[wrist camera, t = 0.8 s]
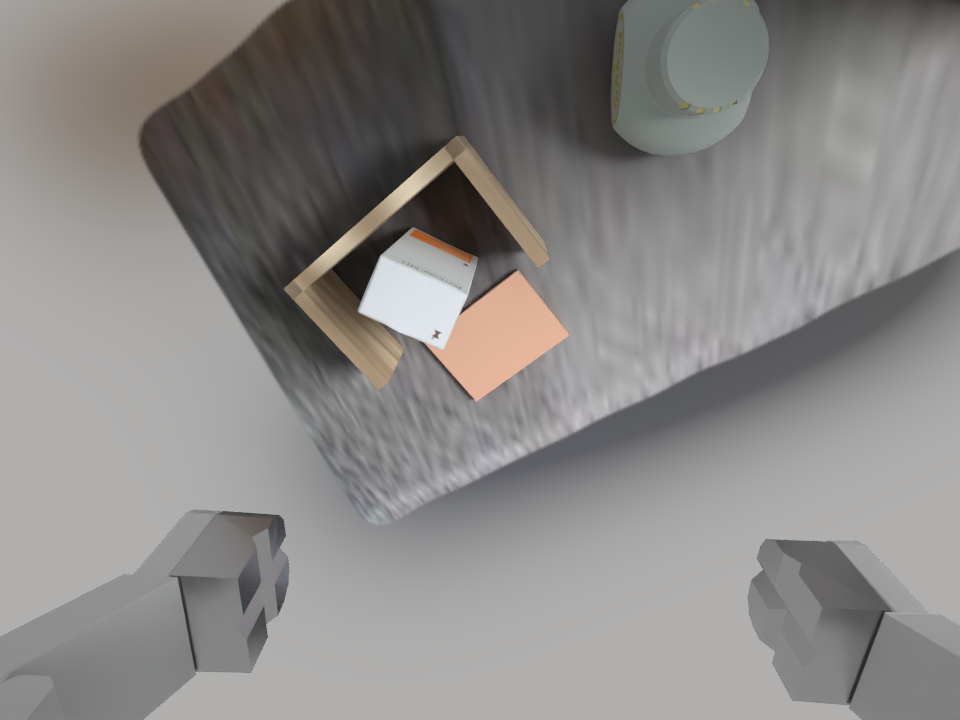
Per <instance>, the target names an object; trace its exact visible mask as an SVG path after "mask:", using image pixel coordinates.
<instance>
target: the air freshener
mask: <svg viewBox="0 0 960 720" xmlns="http://www.w3.org/2000/svg"><path fill="white" fill-rule="evenodd" d="M768 55H769V34H768V30H767V26H766V24H765V22H764V19H763V17H762V16H761V14H760V11H759V7H758V5H757V4H756V2H755V1H754V0H628V1H627V2H626V3H625V4H624V5H623V7H622V8H621V9H620V12H619V16H618V21H617V27H616V34H615V42H614V52H613V64H612V81H611V120H612V126H613V128H614V129H615V131H616V132H617V133H618V134H619V135H620V136H621V137H622V138H623V139H624V140H625V141H627V142H628V143H629V144H631V145H632V146H634V147H636V148H638V149H639V150H642V151H645V152H647V153H650V154H654V155H661V156H682V155H687V154H692V153H695V152H698V151H701V150H703V149H706V148H708V147H710V146H712V145H714V144H715V143H717V142H719V141H720V140H722V139H723V138H724V137H726V136H727V135H728V134H730V133H731V132H732V131H733V130H734V129H735V128H736V127H737V126H738V125H739V124H740V123H741V121H742V120H743V118H744V116H745V114H746V111H747V108H748V106H749V103H750V99H751V95H752V92H753V89H754V88H755V86H756V85H757V84H758V82H759V80H760V78H761V76H762V75H763V72H764V70H765V67H766V64H767V60H768Z"/></svg>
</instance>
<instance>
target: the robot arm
mask: <svg viewBox="0 0 960 720" xmlns="http://www.w3.org/2000/svg"><path fill="white" fill-rule="evenodd" d="M285 537H286V533H285V526H284V520H283V518H282V517H281V516H280V515H270V514H255V513H241V512H228V511H227V512H226V511H222V512H220V511H208V510H207V511H206V510H192V511H189V512H187V513H185V515H184V516H183V517H182V518H181V519H180V520H179V521H178V523H177V524H176V525H175V526H174V527H173V529H172V530H171V531H170V532H169V533H168V534H167V536H166V537H165V538H164V539H163V540H162V541H161V543H160V544H159V545H158V546H157V547H156V548H155V550H154V551H153V552H152V553H151V554H150V556H149V557H148V558H147V559H146V560H145V561H144V563H143V564H142V565H141V566H140V567H139V568H138V570H137V571H136V572H135V573H134V574H133V575H127V574H123V575H122V576H119V577H118V578H115V579H113V580H112V581H110V582H108V583H105V584H103V585H101V586H100V587H97V588H96V589H94V590H92V591H90V592H88V593H86V594H84V595H82V596H80V597H78V598H76V599H74V600H72V601H70V602H68V603H66V604H64V605H62V606H60V607H58V608H56V609H54V610H52V611H50V612H48V613H46V614H44V615H42V616H40V617H38V618H36V619H34V620H32V621H30V622H28V623H26V624H24V625H22V626H20V627H18V628H17V629H14V630H12V631H10V632H8V633H7V634H5V635H3V636H1V637H0V720H143V719H144V718H145V717H147V716H148V715H149V714H150V713H151V712H153V711H154V710H155V709H156V708H157V707H158V706H160V705H161V704H162V703H163V702H164V701H165V700H167V699H168V698H169V697H170V696H171V695H173V693H175V692H176V691H177V690H178V689H180V688H181V687H182V686H183V685H184V684H185V683H187V682H188V681H189V680H190V679H191V678H192V677H194V676H195V675H196V672H202V671H203V672H243V673H251V671H252V670H253V667H254V665H255V663H256V661H257V659H258V657H259V655H260V653H261V651H262V649H263V646H264V644H265V642H266V640H267V638H268V635H267V627H266V624H267V623H268V622H269V621H271V620H272V619H274V618H275V617H276V616H278V614H279V612H280V610H281V607H282V605H283V603H284V600H285V596H286V592H287V587H288V582H289V562H288V557H287V556H286V554H285V553H284V552H282V550H281V549H280V546H281V544H282V542H283V541H284V538H285ZM757 560H758V562H759V563H760V565H761V567H762V568H763V570H762V571H761V572H760V573H759V574H758V575H757V576H755V577H754V578H753V579H752V580H751V584H750V589H749V593H748V604H749V605H748V606H749V615H750V618H751V621H752V625H753V627H754V629H755V631H756V633H757V635H758V637H759V639H760V640H761V641H762V642H764V643H765V644H766V645H768V646H769V647H770V648H772V649H773V650H774V651H775V655H774V658H773V662H772V664H773V666H774V667H775V669H776V671H777V673H778V675H779V677H780V678H781V680H782V682H783V684H784V686H785V688H786V690H787V691H788V693H789V695H790V697H791V699H792V700H793V701H804V702H816V703H829V704H841V705H850V707H849V708H850V709H851V710H852V711H853V712H854V713H855V714H856V715H858V716H859V717H860V718H861V719H862V720H960V625H958V624H956V623H955V622H953V621H951V620H949V619H947V618H946V617H944V616H942V615H935V614H930V613H929V612H928V611H927V610H926V609H925V608H924V607H923V606H922V605H921V604H920V602H919V601H918V600H917V599H916V598H915V597H914V596H913V595H912V594H911V593H910V592H909V591H908V590H907V589H906V588H905V586H904V585H903V584H902V583H901V582H900V581H899V580H898V579H897V578H896V577H895V576H894V575H893V574H892V572H890V570H889V569H887V567H886V566H884V564H883V563H882V562H881V561H880V560H879V559H878V558H877V556H876V555H875V554H874V553H873V552H872V551H871V550H870V549H869V548H868V547H867V546H866V545H864V544H862V543H860V542H858V541H826V542H820V541H798V540H775V539H765V541H764V542H763V544H762V545H761V546H760V550H759V553H758V556H757ZM195 671H196V672H195Z"/></svg>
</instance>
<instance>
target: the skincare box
mask: <svg viewBox="0 0 960 720" xmlns="http://www.w3.org/2000/svg"><path fill="white" fill-rule="evenodd" d="M477 262H478V257H476V256H474V255H472V254H469V253H467V252H465V251H463V250H460V249H458V248H456V247H454V246H452V245H449V244H447V243H445V242H443V241H441V240H439V239H437V238H435V237H433V236H431V235H429V234H427V233H425V232H423V231H421V230H419V229H417V228H415V227H412V228H411V229H410V230H409V231H407V232H406V233H405V234H404V235H403V236H402V237H401V238H400V239H398V240H397V241H396V242H395V243H394V244H393V245H392V246H391V247H389V248H388V249H387V250H386V251H385V252H384V253H383V254H382V255H380V257H379V259H378V262H377V264H376V266H375V269H374V271H373V274H372V276H371V278H370V281H369V283H368V286H367V288H366V290H365V293H364V295H363V298H362V300H361V303H360V305H359V308H358V312H359V313H360V314H362V315H364V316H366V317H369V318H371V319H373V320H375V321H378V322H380V323H382V324H384V325H386V326H388V327H390V328H392V329H394V330H395V331H397V332H400V333H402V334H404V335H407V336H410V337H413V338H415V339H417V340H419V341H422V342H424V343H426V344H429V345H431V346H433V347H435V348H438V349H440V350H444V348H445V346H446V344H447V341H448V339H449V337H450V335H451V332H452V330H453V328H454V326H455V323H456V321H457V319H458V317H459V315H460V312H461V310H462V308H463V306H464V303H465V301H466V299H467V296H468V293H469V290H470V286H471V283H472V279H473V276H474V273H475V269H476V266H477Z"/></svg>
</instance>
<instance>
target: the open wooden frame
mask: <svg viewBox="0 0 960 720" xmlns="http://www.w3.org/2000/svg"><path fill="white" fill-rule="evenodd" d="M454 162H456V164H457V165H458V166H459V168H460V169H461V170H462V171H463V173H464V174H465V175H466V177H467V178H468V179H469V180H470V182H471V183H472V184H473V186H474V187H475V188H476V189H477V191H478V192H479V193H480V195H481V196H482V197H483V198H484V200H485V201H486V202H487V204H488V205H489V206H490V207H491V209H492V210H493V211H494V213H495V214H496V215H497V216H498V218H499V219H500V220H501V221H502V223H503V224H504V225H505V227H506V228H507V229H508V230H509V232H510V233H511V234H512V236H513V237H514V238H515V239H516V241H517V242H518V243H519V245H520V246H521V247H522V248H523V250H524V251H525V252H526V254H527V255H528V256H529V257H530V259H531V260H532V261H533V263H534V264H535V265H536V266H537V268H539V267H540V266H541V265H543V264H544V263H545V262H547V261H548V260H549V255H548V252H547V249H546V246H545V243H544V240H543V239H542V238H541V236H540V235H539V234H538V233H537V231H536V230H535V229H534V227H533V226H532V225H531V223H530V222H529V221H528V219H527V218H526V217H525V215H524V214H523V213H522V212H521V210H520V209H519V208H518V206H517V205H516V204H515V202H514V201H513V200H512V198H511V197H510V196H509V194H508V193H507V192H506V191H505V189H504V188H503V187H502V185H501V184H500V183H499V181H498V180H497V179H496V177H495V176H494V175H493V174H492V172H491V171H490V170H489V168H488V167H487V166H486V164H485V163H484V162H483V160H482V159H481V158H480V156H479V155H478V154H477V153H476V151H475V150H474V149H473V147H472V146H471V145H470V143H469V142H468V141H467V139H466V138H465V137H464V136H456V137H454V138H453V139H452V140H451V141H450V142H449V143H448V144H447V145H445V146H444V147H443V148H442V149H441V150H440V151H439V152H437V153H436V154H435V155H434V156H433V157H432V158H431V159H430V160H428V161H427V162H426V163H425V164H424V165H423V166H422V167H421V168H419V169H418V170H417V171H416V172H415V173H414V174H413V175H412V176H410V177H409V178H408V179H407V180H406V181H405V182H404V183H402V184H401V185H400V186H399V187H398V188H397V189H396V190H395V191H393V192H392V193H391V194H390V195H389V196H388V197H387V198H386V199H384V200H383V201H382V202H381V203H380V204H379V205H378V206H377V207H375V208H374V209H373V210H372V211H371V212H370V213H369V214H368V215H366V216H365V217H364V218H363V219H362V220H361V221H360V222H358V223H357V224H356V225H355V226H354V227H353V228H352V229H351V230H349V231H348V232H347V233H346V234H345V235H344V236H343V237H342V238H340V239H339V240H338V241H337V242H336V243H335V244H334V245H333V246H331V247H330V248H329V249H328V250H327V251H326V252H325V253H323V254H322V255H321V256H320V257H319V258H318V259H317V260H316V261H314V262H313V263H312V264H311V265H310V266H309V267H308V268H307V269H305V270H304V271H303V272H302V273H301V274H300V275H299V276H298V277H296V278H295V279H294V280H293V281H292V282H291V283H290V284H288V285H287V286H286V287H285V288H284V290H285V291H286V292H287V293H288V295H289V296H290V297H291V298H292V299H293V300H294V301H295V302H296V303H297V304H298V305H299V306H300V307H301V308H302V309H303V310H304V312H305V313H306V314H307V315H308V316H309V317H310V318H311V319H312V320H313V321H314V322H315V323H316V324H317V325H318V326H319V327H320V328H321V330H322V331H323V332H324V333H325V334H326V335H327V336H328V337H329V338H330V339H331V340H332V341H333V342H334V343H335V344H336V345H337V346H338V348H339V349H340V350H341V351H342V352H343V353H344V354H345V355H346V356H347V357H348V358H349V359H350V360H351V361H352V362H353V363H354V365H355V366H356V367H357V368H358V369H359V370H360V371H361V372H362V373H363V374H364V375H365V376H366V377H367V378H368V379H369V380H370V381H371V383H372V384H373V385H374V386H375V387H376V388H377V389H378V390H379V389H381V388H382V387H383V386H385V385H386V384H387V383H388V382H389V380H390V378H391V376H392V374H393V372H394V370H395V368H396V366H397V363H398V361H399V359H400V357H401V355H402V353H403V351H404V349H403V348H402V347H401V345H400V344H399V343H398V342H397V341H396V340H395V339H394V338H393V337H392V335H391V334H390V333H389V332H388V331H387V330H386V329H385V328H384V327H383V325H382V324H381V323H380V322H378V321H375V320H373V319H371V318H369V317H366V316H364V315H362V314H360V313H359V312H358V308H359V305H360V303H361V301H360V300H359V299H358V298H357V297H356V296H355V294H354V293H353V292H352V291H351V290H350V289H349V288H348V287H347V286H346V284H345V283H344V282H343V281H342V280H341V279H340V278H339V277H338V276H337V275H336V273H335V272H334V271H333V270H332V268H333V267H335V266H336V265H337V264H338V263H339V262H340V261H341V260H343V259H344V258H345V257H346V256H347V255H348V254H350V253H351V252H352V251H353V250H354V249H355V248H356V247H358V246H359V245H360V244H361V243H362V242H363V241H364V240H366V239H367V238H368V237H369V236H370V235H371V234H372V233H374V232H375V231H376V230H377V229H378V228H379V227H381V226H382V225H383V224H384V223H385V222H386V221H387V220H389V219H390V218H391V217H392V216H393V215H394V214H395V213H397V212H398V211H399V210H400V209H401V208H402V207H403V206H405V205H406V204H407V203H408V202H409V201H410V200H412V199H413V198H414V197H415V196H416V195H417V194H418V193H420V192H421V191H422V190H423V189H424V188H425V187H426V186H428V185H429V184H430V183H431V182H432V181H433V180H435V179H436V178H437V177H438V176H439V175H440V174H441V173H443V172H444V171H445V170H446V169H447V168H448V167H449V166H451V165H452V164H453V163H454Z"/></svg>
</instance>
